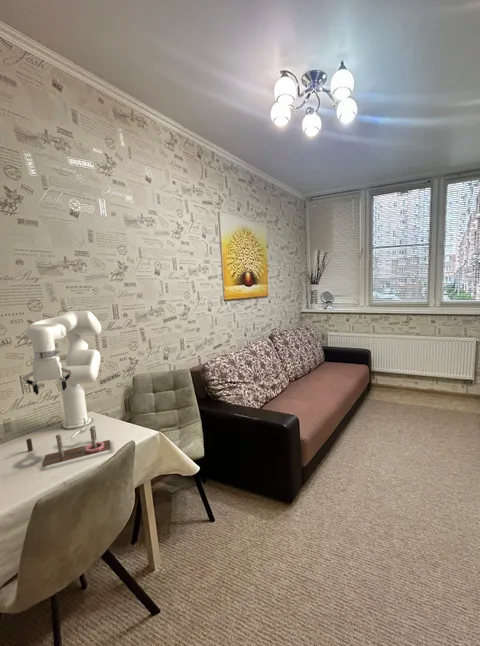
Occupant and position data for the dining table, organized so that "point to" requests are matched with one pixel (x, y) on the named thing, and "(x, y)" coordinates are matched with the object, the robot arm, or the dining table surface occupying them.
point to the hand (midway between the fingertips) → (50, 391)
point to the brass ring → (29, 445)
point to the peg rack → (73, 450)
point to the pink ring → (96, 444)
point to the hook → (78, 431)
